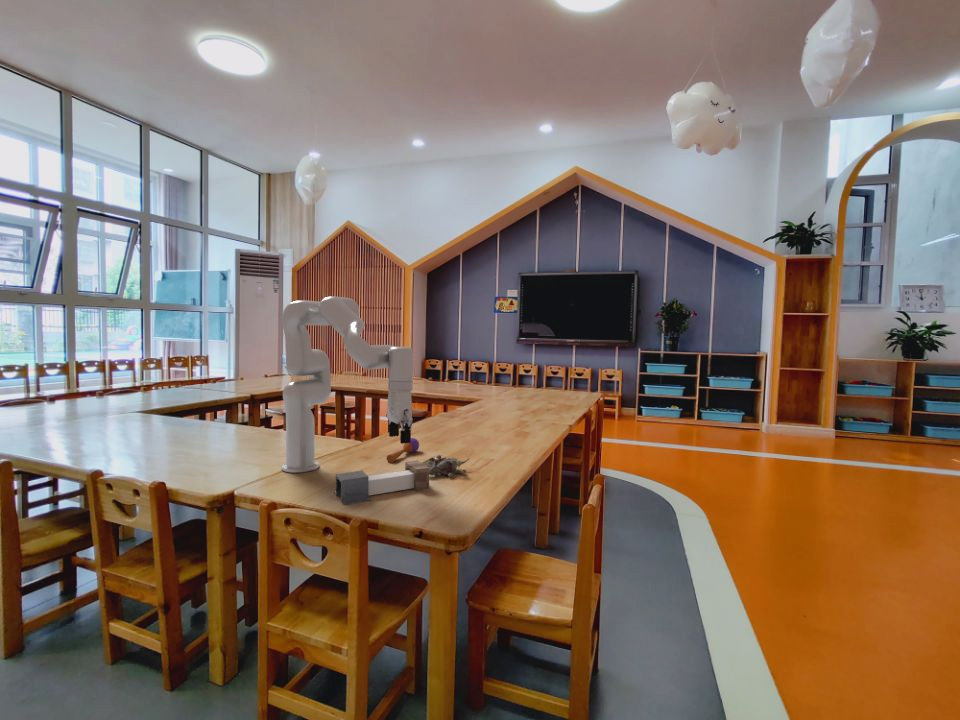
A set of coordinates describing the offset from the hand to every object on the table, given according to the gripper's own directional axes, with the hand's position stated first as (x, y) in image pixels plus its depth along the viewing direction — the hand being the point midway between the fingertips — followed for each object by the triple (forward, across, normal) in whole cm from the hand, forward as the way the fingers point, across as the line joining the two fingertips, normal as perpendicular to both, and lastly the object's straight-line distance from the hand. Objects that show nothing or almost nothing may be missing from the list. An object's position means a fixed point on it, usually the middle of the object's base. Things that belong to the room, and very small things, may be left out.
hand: (399, 439), depth 150 cm
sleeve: (+16, 0, -15) cm, 22 cm away
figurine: (+16, -10, +20) cm, 28 cm away
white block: (+16, 0, -3) cm, 16 cm away
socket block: (+16, 0, +6) cm, 17 cm away
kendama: (+17, -35, +16) cm, 42 cm away
